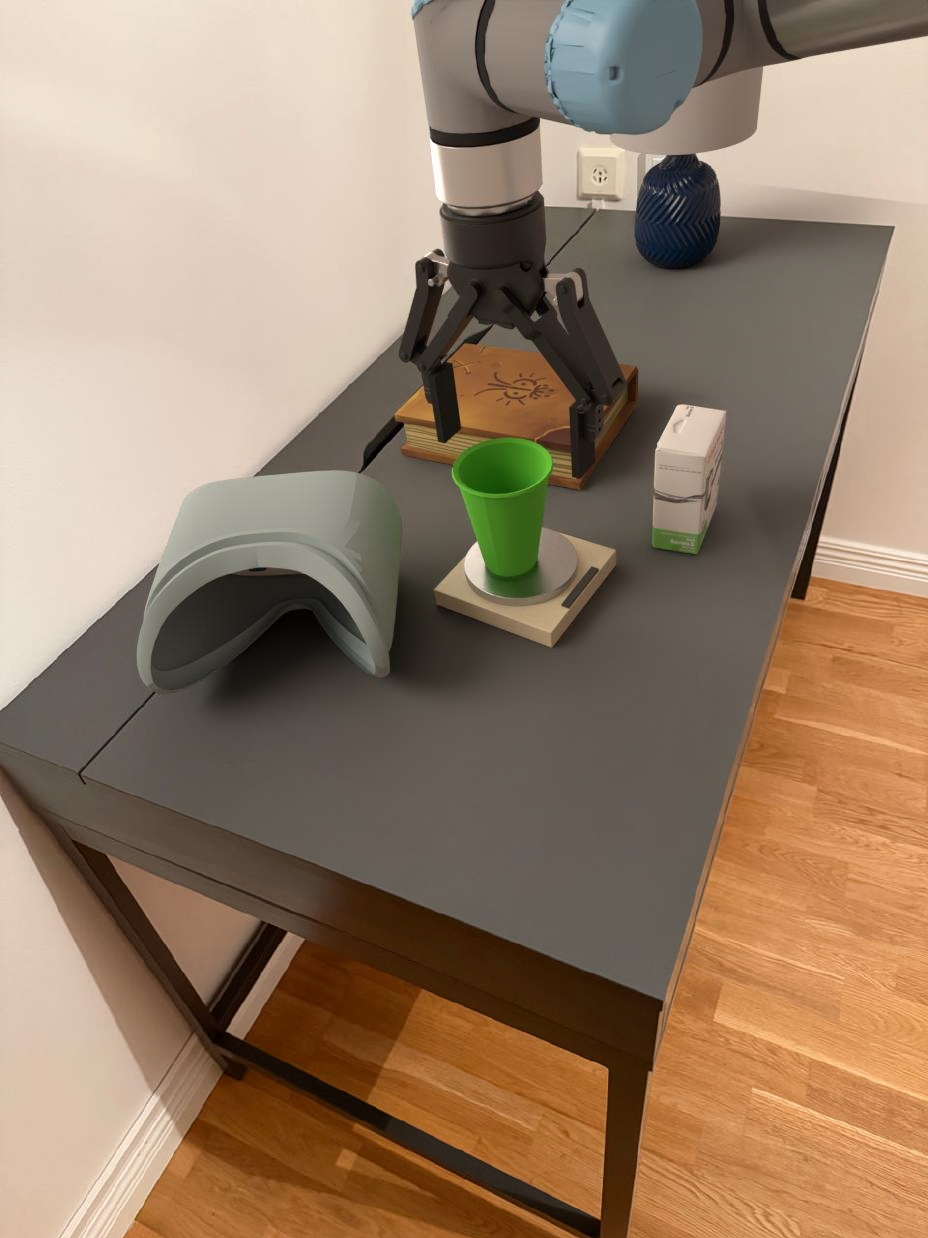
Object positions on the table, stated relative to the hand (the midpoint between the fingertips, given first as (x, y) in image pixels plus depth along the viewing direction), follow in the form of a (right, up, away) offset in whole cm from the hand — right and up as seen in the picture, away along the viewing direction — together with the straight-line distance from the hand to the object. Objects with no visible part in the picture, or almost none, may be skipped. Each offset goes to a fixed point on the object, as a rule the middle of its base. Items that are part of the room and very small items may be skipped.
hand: (514, 452), depth 78 cm
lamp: (+29, +41, +62) cm, 80 cm away
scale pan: (+2, -10, +9) cm, 14 cm away
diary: (+3, +8, +31) cm, 32 cm away
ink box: (+18, -5, +15) cm, 24 cm away
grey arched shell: (-21, -17, +9) cm, 28 cm away
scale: (+2, -11, +11) cm, 16 cm away
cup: (0, -9, +9) cm, 13 cm away
